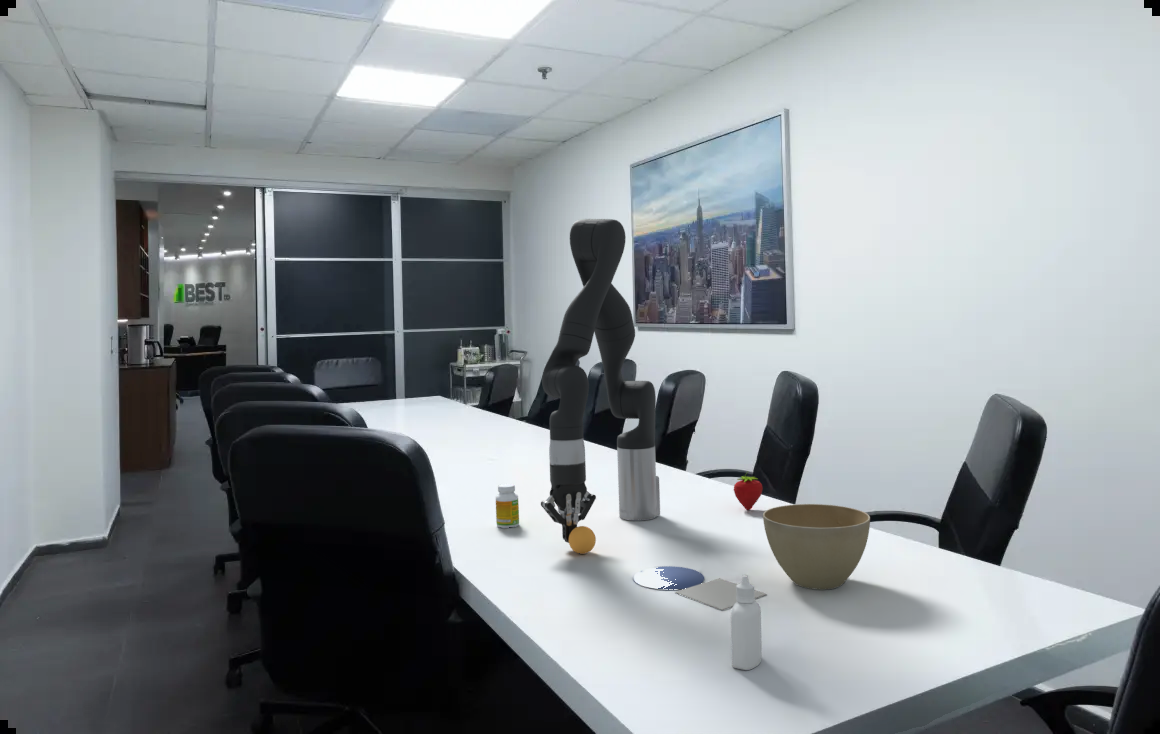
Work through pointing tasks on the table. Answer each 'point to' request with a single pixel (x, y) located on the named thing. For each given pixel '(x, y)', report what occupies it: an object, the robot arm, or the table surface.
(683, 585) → the disc
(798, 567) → the beige bowl
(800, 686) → the table surface
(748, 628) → the eye dropper bottle
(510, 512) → the supplement bottle
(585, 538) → the ball
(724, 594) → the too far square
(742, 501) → the strawberry
